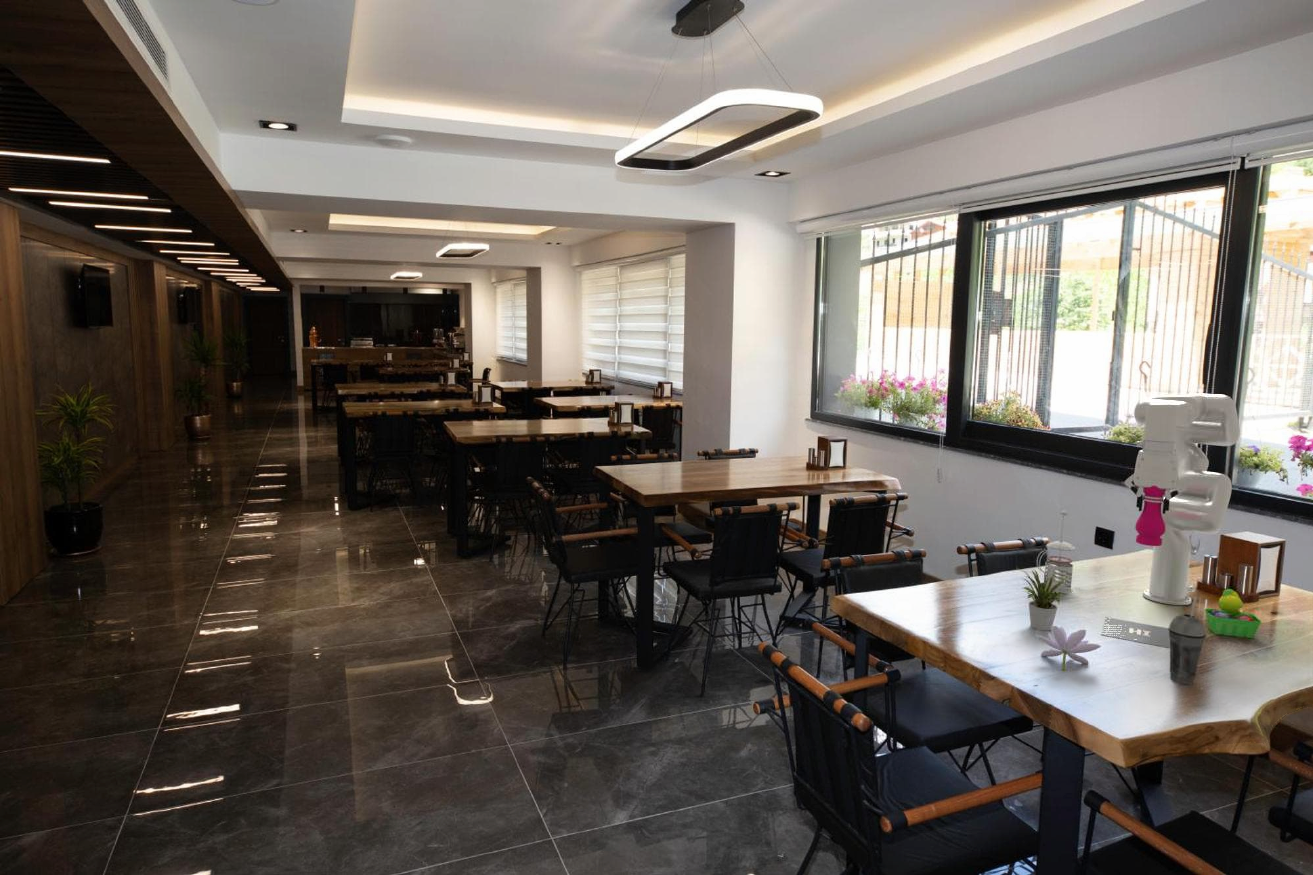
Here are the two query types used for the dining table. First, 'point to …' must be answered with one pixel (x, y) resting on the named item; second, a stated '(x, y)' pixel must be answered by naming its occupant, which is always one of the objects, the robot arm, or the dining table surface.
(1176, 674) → the beverage cup
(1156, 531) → the pepper mill
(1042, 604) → the house plant
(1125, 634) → the tile
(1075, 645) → the water lily
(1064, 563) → the french press
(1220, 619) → the fruit basket
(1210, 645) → the dining table surface
